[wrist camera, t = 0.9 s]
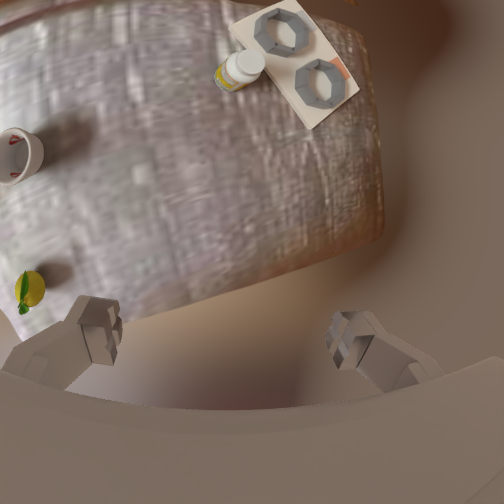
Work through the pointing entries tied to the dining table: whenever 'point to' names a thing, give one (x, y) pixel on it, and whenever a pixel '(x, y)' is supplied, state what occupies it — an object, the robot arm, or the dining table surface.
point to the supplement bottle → (239, 70)
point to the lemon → (29, 290)
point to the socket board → (298, 59)
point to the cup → (19, 155)
